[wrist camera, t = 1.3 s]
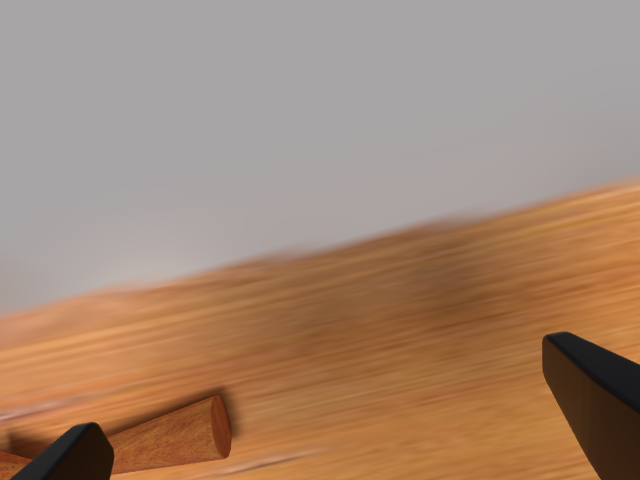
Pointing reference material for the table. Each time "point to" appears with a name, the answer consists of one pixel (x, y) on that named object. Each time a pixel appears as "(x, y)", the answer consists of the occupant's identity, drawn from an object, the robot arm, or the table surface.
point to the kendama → (161, 441)
